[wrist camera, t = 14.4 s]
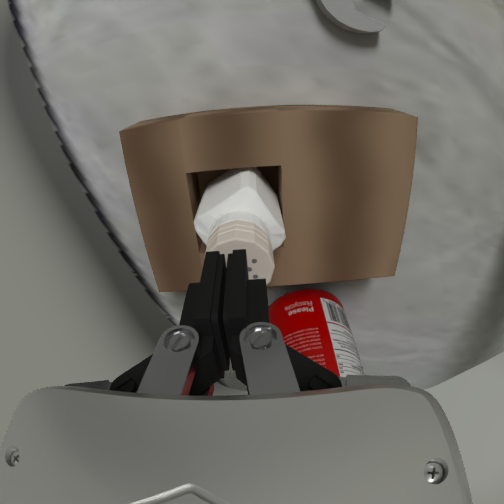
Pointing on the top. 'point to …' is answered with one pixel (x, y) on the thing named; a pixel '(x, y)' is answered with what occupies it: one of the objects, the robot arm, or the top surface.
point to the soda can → (317, 329)
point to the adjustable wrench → (348, 16)
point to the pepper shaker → (242, 219)
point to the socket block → (279, 186)
